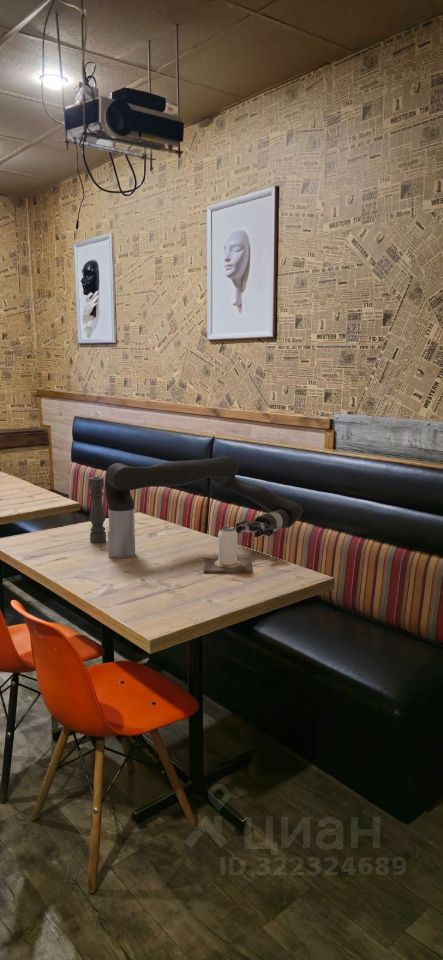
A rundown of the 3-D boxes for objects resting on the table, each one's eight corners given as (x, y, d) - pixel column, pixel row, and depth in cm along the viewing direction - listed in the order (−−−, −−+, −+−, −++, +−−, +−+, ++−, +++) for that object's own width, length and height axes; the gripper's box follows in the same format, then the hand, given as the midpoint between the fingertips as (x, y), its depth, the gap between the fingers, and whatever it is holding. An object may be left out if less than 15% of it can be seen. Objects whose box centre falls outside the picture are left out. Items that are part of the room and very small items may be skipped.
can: (238, 560, 232) (238, 526, 230) (236, 566, 226) (236, 531, 223) (219, 559, 233) (219, 526, 230) (217, 565, 226) (217, 531, 224)
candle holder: (104, 543, 258) (102, 479, 253) (88, 543, 258) (86, 479, 253) (107, 539, 264) (105, 476, 259) (91, 539, 264) (89, 476, 259)
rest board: (203, 573, 222) (203, 569, 222) (204, 560, 236) (204, 556, 236) (251, 573, 222) (251, 569, 222) (249, 560, 236) (250, 556, 236)
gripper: (252, 510, 253) (228, 519, 239) (285, 515, 245) (262, 525, 232) (252, 530, 254) (228, 539, 241) (285, 535, 246) (262, 546, 233)
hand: (245, 532), depth 236 cm, fingers open, 8 cm apart
